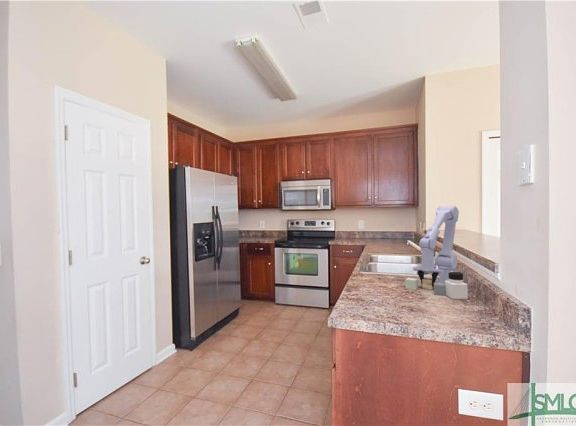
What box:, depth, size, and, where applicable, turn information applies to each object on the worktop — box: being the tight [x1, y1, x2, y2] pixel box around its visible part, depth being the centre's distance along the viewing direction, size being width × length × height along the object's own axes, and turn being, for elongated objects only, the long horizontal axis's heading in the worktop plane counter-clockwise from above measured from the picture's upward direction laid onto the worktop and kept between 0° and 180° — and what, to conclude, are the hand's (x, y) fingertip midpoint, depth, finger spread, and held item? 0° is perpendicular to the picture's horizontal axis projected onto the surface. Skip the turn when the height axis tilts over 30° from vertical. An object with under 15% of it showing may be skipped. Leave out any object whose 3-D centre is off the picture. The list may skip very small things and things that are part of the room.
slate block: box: [433, 282, 446, 296], centre depth 140 cm, size 4×4×5 cm
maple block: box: [421, 277, 434, 291], centre depth 150 cm, size 4×4×5 cm
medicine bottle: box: [445, 270, 469, 300], centre depth 134 cm, size 7×7×12 cm
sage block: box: [405, 277, 419, 291], centre depth 151 cm, size 5×5×5 cm
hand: (428, 285), depth 150 cm, fingers closed on maple block, 4 cm apart
